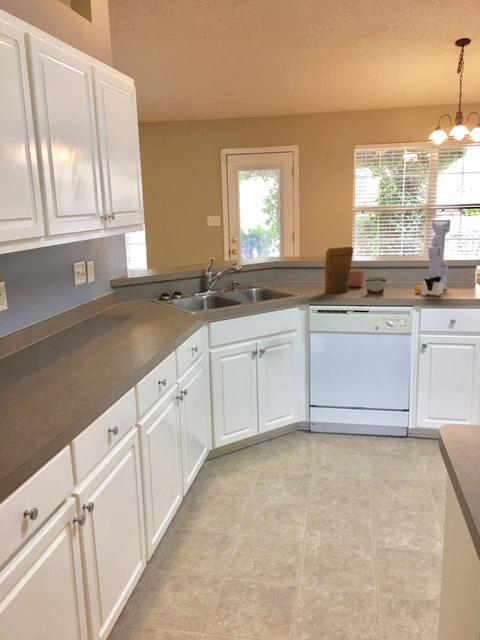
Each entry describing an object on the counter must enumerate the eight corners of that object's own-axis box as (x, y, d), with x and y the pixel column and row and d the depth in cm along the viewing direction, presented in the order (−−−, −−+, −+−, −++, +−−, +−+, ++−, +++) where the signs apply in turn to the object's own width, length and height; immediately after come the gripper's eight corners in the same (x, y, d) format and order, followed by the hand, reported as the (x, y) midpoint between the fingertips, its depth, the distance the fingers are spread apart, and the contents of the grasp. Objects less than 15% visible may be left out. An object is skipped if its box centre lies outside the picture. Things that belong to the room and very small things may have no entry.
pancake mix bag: (354, 292, 322) (355, 247, 316) (325, 294, 318) (326, 248, 311) (349, 290, 328) (350, 246, 322) (321, 292, 324) (322, 247, 318)
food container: (383, 293, 318) (384, 276, 315) (385, 294, 312) (386, 278, 309) (363, 293, 319) (364, 277, 317) (364, 294, 313) (365, 278, 311)
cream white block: (426, 291, 312) (427, 280, 311) (442, 293, 305) (443, 282, 304) (421, 292, 308) (422, 282, 307) (437, 294, 301) (438, 283, 300)
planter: (352, 288, 335) (353, 272, 333) (341, 286, 346) (341, 269, 344) (368, 287, 340) (368, 270, 338) (356, 284, 351) (357, 268, 349)
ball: (416, 292, 317) (417, 284, 316) (424, 293, 313) (424, 285, 312) (412, 293, 314) (412, 285, 312) (420, 294, 310) (420, 286, 309)
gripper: (434, 268, 296) (432, 292, 299) (446, 266, 305) (444, 288, 308) (422, 267, 301) (421, 290, 304) (434, 265, 310) (433, 287, 313)
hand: (432, 289), depth 306 cm, fingers closed on cream white block, 6 cm apart
